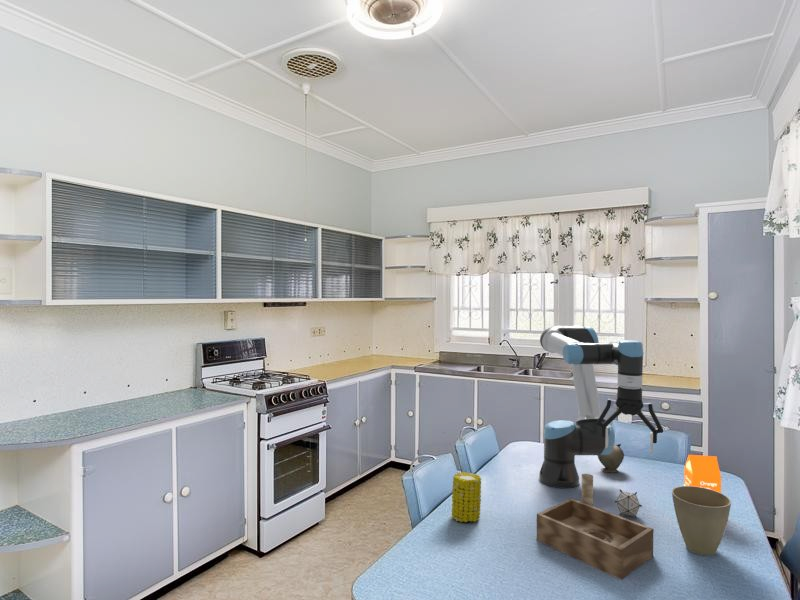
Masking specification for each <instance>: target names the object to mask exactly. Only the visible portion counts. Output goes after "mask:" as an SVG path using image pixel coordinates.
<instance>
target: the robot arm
mask: <svg viewBox="0 0 800 600" xmlns="http://www.w3.org/2000/svg"><path fill="white" fill-rule="evenodd" d="M539 337H540V338H539V343H540V346H541V348H542V349H543V350H544V351H546V352H547V353H550V354H555V353H556V354H558V355H560V356H562V358H563V360H564V363H566V364H567V365H571V370H572V377H573V384H574V391H575V399H576V406H577V412H578V417H577V419H576V421H575V422H573V421H571V420H564V419H561V420H552V421H549V422H547V423H546V424H545V426H544V431H543V432H544V433H543V462H542V465H541V468H540V470H539V474H538V475H539V476H538V477H539V478H538V479H539V481H540V483H543V484H545V485H546V486H549V487H554V488H561V489H570V488H575V487H577V486H579V485H580V475H579V474H578V470H577V466H576V464H575V457H576V456H597V457H598V456H600V455H608V454H610V453H611V452H612V450H613V448H614V445H616V444H615V442H616V434H615V430H614V428H613V426H612V425H610V424H611V423H612V422H613V421H614V420H615V419H616V418H617V417H619V416H620V415H621V414H624V415H626V416H627V415H628V416H629V415H631V416H636V415H637V416H638V418H640V419H641V420H642V421H643V423H644V424H645V425H646V427H647V428H648V429H649V430H650V431H649V454H651V455H653V454H654V453H653V452H654V447H653V446H654V444H657V442H658V434H660V433H661V434H662V433H663V432H664V429H663V426H662V424H661V422H660V420H659V419H658V417H657V415H656V413H655V410H654V409H653V403H652V402H650V401H649V402H643V389H642V387H643V368H644V367H643V366H644V365H643V364H644V349H643V342H641V341H639V340H632V339H622V340H620V341H619V342H618V341H609V342H600V341H599V337H598V335H597V332H596V330H595V329H594V328H593V327H591V326H587V325H553V326H551V327H548V328H546V329H545V330H544V331H543V332H542V333H541V335H540V336H539ZM594 365H616V366H617V385H618V386H617V391H616V392H617V394H616V395H617V397H616V400H615V399H611V398H610V397H609V398H607V401H606V406H605V407H604V409H603V410H602V411H601V405H600V399H599V398H600V397H599V393H598V386H597V381H596V375H595V369H594ZM614 405H616V407H617V409H616V410H615V411H614V412H613V413H612V414H611V415H610V416H609V417H607V419H606V418H605V417H606V415H607V414H608V412H609V411H610V408H611V407H613V406H614ZM643 408H645V410H647V411H648V412H649V414H650V416H651V418H652V420H653V422H654V424H655V426H656V427H655V426H654V425H653V424H652V422H651V421H650V420H649V419H648V418H647V416H646V415H645V414H644V412H643V411H641V410H642V409H643Z"/></svg>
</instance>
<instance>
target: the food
mask: <svg viewBox="0 0 800 600" xmlns="http://www.w3.org/2000/svg"><path fill="white" fill-rule="evenodd" d="M452 479H453V480H452V490H451V491H452V496H451V498H452V500H451V502H452V503H451V516H452V518H453V519H454V520H455V521H456V522H460V523H463V522H464V523H468V522H475V523H476V521H479V519H480V518H481V517H480V515H481V503H482V498H481V497H482V495H481V494H482V477H481V476H480V475H479V474H477V473H473V472H470V473H469V472H465V471H461V472H460V471H459V472H457V473H455V474H454V475H453V476H452Z"/></svg>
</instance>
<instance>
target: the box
mask: <svg viewBox="0 0 800 600" xmlns="http://www.w3.org/2000/svg"><path fill="white" fill-rule="evenodd" d="M536 541H538V542H539V543H542V544H545V545H546V546H548V547H551V548H553V549H555V550H557V551H559V552H561V553H563V554H565V555H567V556H569V557H572V558H574V559H576V560H578V561H580V562H582V563H584V564H587V565H588V566H590V567H593V568H595V569H596V570H599V571H601V572H604V573H605V574H606V575H607V574H608V575H610V576H612V577H614V578H616V579H618V580H620V581H622V580H623V579H624V578H626V577H627V576H629V575H630V574H631V573H632V572H634V571H635V570H637V569H638V568H640V567H641V566H642V565H644V564H645V563H646V562H648V561H649V560H650V559H652V558H653V557H654V528H652V527H650V526H647V525H644V524H642V523H639V522H636V521H633V520H630V519H628V518H625V517H623V516H621V515H620V516H619V515H617V514H614V513H612V512H610V511H606V510H604V509H601V508H599V507H596V506H594V505H593V506H591V505H588V504H585V503H583V502H581V501H579V500H576V499H574V498H572V497H570V498H568V499H566V500H564V501H562V502H560V503H557V504H556V505H554V506H552V507H550V508H547V509H544V510H543V511H540V512H538V513H536Z"/></svg>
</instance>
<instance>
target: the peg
mask: <svg viewBox="0 0 800 600" xmlns="http://www.w3.org/2000/svg"><path fill="white" fill-rule="evenodd" d="M580 502H583V503H585V504H588V505H591V506H593V507H594V475H593V474H590V473H582V474H581V501H580Z"/></svg>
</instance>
